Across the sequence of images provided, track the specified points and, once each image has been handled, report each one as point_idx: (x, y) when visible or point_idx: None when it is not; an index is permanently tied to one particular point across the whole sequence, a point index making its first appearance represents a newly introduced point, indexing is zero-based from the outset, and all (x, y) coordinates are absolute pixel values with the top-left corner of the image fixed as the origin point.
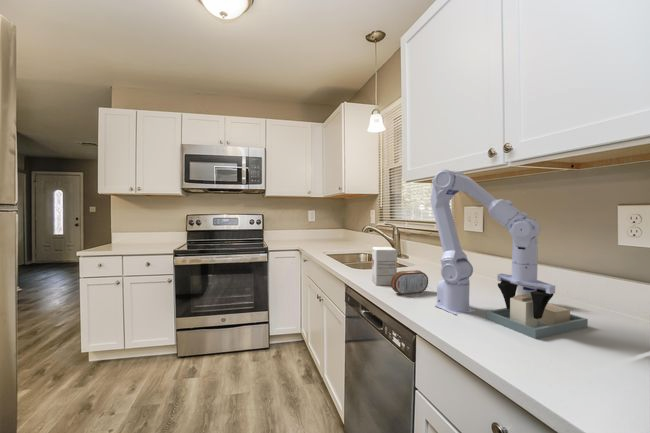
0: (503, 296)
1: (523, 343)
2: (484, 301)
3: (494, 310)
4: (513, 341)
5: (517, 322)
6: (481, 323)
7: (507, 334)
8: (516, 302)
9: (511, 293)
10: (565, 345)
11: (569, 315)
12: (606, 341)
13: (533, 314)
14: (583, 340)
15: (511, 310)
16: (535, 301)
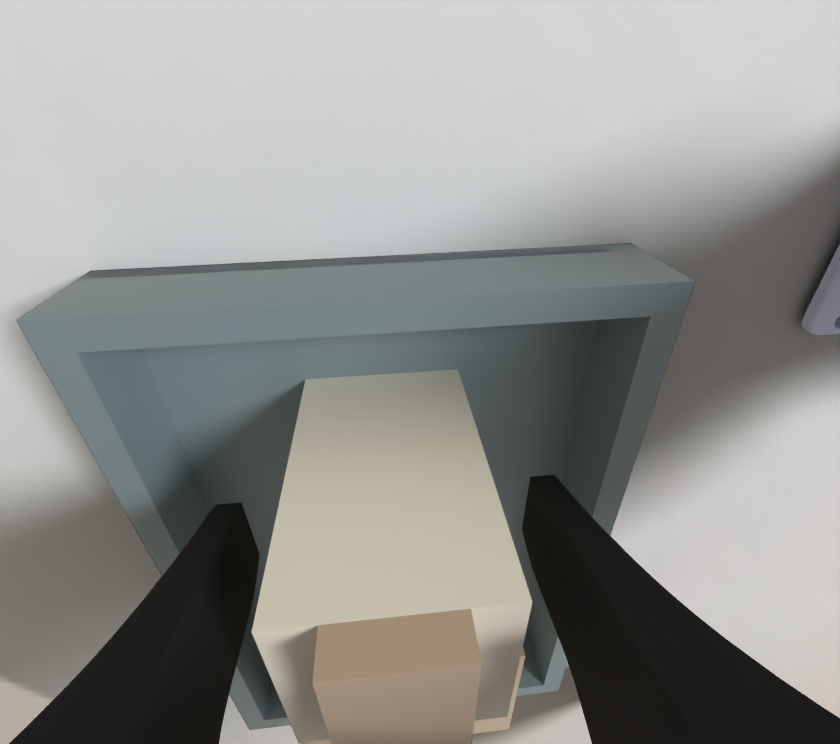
0: (658, 586)
1: (30, 96)
2: (828, 537)
3: (643, 384)
4: (86, 19)
5: (273, 322)
6: (620, 131)
7: (287, 147)
8: (413, 572)
9: (607, 698)
10: (18, 423)
11: None
12: (102, 632)
13: (226, 531)
14: (116, 564)
15: (465, 458)
16: (71, 736)
